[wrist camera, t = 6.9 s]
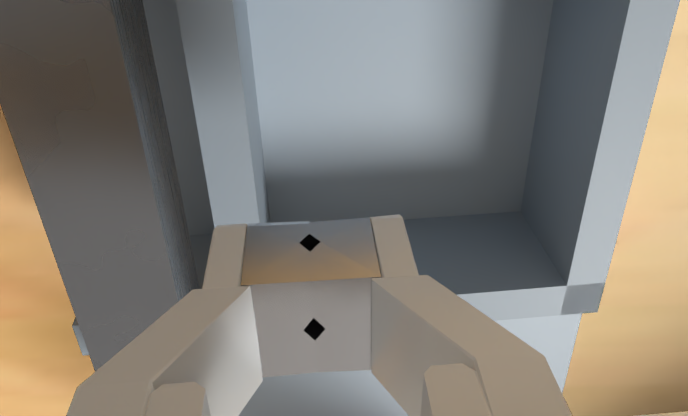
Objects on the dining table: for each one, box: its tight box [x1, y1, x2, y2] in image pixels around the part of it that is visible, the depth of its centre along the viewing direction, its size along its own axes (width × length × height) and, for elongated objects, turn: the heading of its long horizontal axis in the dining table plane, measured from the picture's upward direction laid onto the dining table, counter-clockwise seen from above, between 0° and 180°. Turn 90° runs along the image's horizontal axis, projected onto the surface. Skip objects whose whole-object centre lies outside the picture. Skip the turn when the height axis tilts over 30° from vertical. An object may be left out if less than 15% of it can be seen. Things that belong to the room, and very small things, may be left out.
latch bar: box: [0, 0, 200, 372], centre depth 11 cm, size 3×13×3 cm, turn 2°
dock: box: [72, 0, 680, 416], centre depth 17 cm, size 15×20×5 cm
